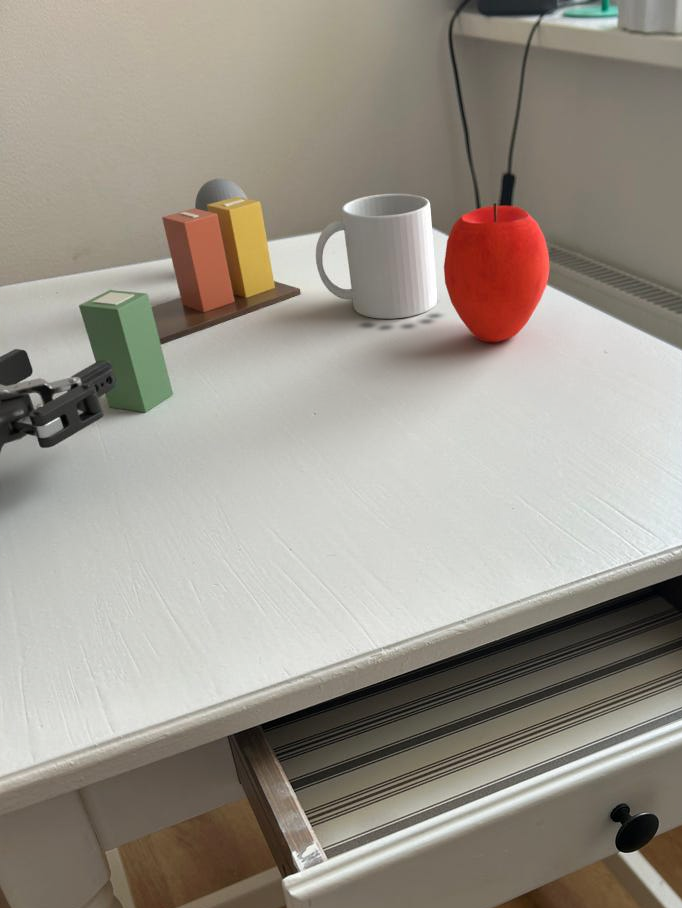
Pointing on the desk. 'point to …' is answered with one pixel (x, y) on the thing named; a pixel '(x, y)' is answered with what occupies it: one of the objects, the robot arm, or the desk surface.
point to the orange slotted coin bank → (198, 259)
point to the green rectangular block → (128, 348)
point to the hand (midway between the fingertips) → (67, 366)
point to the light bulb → (217, 193)
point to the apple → (496, 270)
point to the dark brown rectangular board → (212, 312)
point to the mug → (386, 255)
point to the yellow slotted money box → (244, 245)
